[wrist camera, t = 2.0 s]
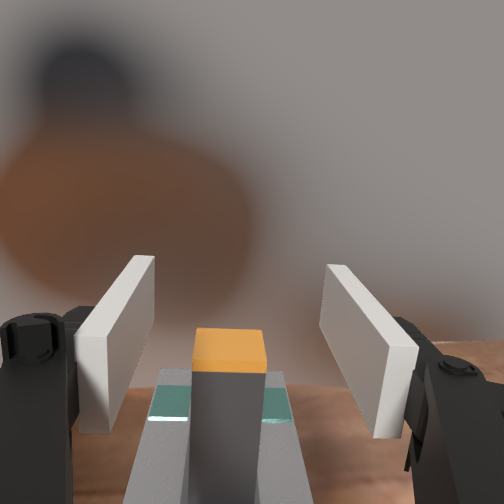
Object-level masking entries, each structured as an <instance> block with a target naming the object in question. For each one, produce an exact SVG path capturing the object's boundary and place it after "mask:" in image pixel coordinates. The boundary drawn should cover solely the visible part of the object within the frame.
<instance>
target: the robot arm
mask: <svg viewBox="0 0 504 504" xmlns="http://www.w3.org/2000/svg"><path fill="white" fill-rule="evenodd" d="M153 322H154V256H142V255H135V256H134V257H133V258H132V259H131V261H130V262H129V263H128V265H127V266H126V267H125V269H124V270H123V271H122V273H121V274H120V275H119V276H118V278H117V279H116V280H115V282H114V283H113V284H112V286H111V287H110V288H109V290H108V291H107V292H106V294H105V295H104V296H103V298H102V299H101V300H100V302H99V303H98V304H97V305H96V307H93V306H78V307H77V308H74V309H73V310H71V311H69V312H67V313H66V314H65V315H64V316H63V317H60V316H58V315H56V314H51V313H32V314H26V315H22V316H18V317H15V318H12V319H10V320H9V321H7V322H5V323H3V325H2V326H1V327H0V338H1V345H2V355H3V363H2V367H1V368H0V504H73V471H72V433H71V428H72V426H73V424H74V422H75V420H76V418H77V416H78V424H79V434H110V433H111V430H112V427H113V425H114V422H115V420H116V417H117V415H118V412H119V409H120V407H121V404H122V402H123V399H124V397H125V394H126V391H127V389H128V386H129V384H130V381H131V378H132V376H133V374H134V371H135V368H136V366H137V363H138V361H139V358H140V356H141V353H142V350H143V348H144V345H145V343H146V340H147V338H148V335H149V332H150V330H151V327H152V325H153ZM319 327H320V329H321V331H322V333H323V335H324V337H325V339H326V341H327V343H328V345H329V347H330V349H331V352H332V354H333V355H334V358H335V360H336V361H337V364H338V366H339V368H340V370H341V372H342V374H343V377H344V379H345V381H346V383H347V385H348V387H349V389H350V391H351V393H352V395H353V397H354V399H355V402H356V404H357V406H358V408H359V410H360V412H361V414H362V416H363V418H364V420H365V422H366V424H367V426H368V429H369V431H370V433H371V435H372V437H373V438H401V434H402V429H403V424H404V419H405V420H406V422H407V424H408V425H409V427H410V428H411V430H412V435H411V440H410V445H409V449H408V454H407V459H406V463H405V468H404V471H407V472H409V468H410V466H411V469H412V479H413V488H414V497H415V504H504V385H503V384H498V383H493V382H489V381H486V379H485V377H484V375H483V373H482V372H481V371H480V370H479V368H477V367H476V366H474V365H473V364H471V363H470V362H467V361H465V360H463V359H461V358H457V357H453V356H449V355H443V354H442V353H441V352H440V351H439V350H438V349H437V348H436V347H435V346H434V345H433V344H432V343H431V342H430V341H429V340H427V338H426V337H425V336H424V335H423V334H421V332H420V331H419V330H418V329H417V328H416V327H415V326H414V325H413V324H412V323H410V322H408V321H407V320H405V319H403V318H401V317H392V316H391V315H390V314H389V313H388V312H387V311H386V310H385V309H384V308H383V306H382V305H381V304H380V303H379V302H378V301H377V300H376V299H375V298H374V297H373V295H372V294H371V293H370V292H369V291H368V290H367V289H366V288H365V287H364V285H363V284H362V283H361V282H360V281H359V280H358V279H357V278H356V277H355V275H354V274H353V273H352V272H351V271H350V270H349V269H348V268H347V267H346V266H345V265H329V264H327V267H326V275H325V283H324V291H323V299H322V308H321V315H320V323H319Z"/></svg>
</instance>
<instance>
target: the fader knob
mask: <svg viewBox="0 0 504 504" xmlns="http://www.w3.org/2000/svg"><path fill="white" fill-rule="evenodd" d="M266 367H267V358H266V353H265V348H264V341H263V336H262V330H245V329H215V328H214V329H213V328H197V332H196V338H195V345H194V351H193V358H192V384H191V416H190V447H189V479H188V504H254V502H255V491H256V480H257V468H258V457H259V446H260V435H261V423H262V412H263V401H264V390H265V379H266Z"/></svg>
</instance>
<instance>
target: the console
mask: <svg viewBox="0 0 504 504" xmlns="http://www.w3.org/2000/svg"><path fill="white" fill-rule="evenodd" d="M191 384H192V369H175V368H174V369H173V368H161V369H160V372H159V376H158V380H157V383H156V387H155V390H154V394H153V397H152V401H151V404H150V408H149V411H148V415H147V418H146V422H145V426H144V429H143V433H142V436H141V440H140V443H139V447H138V450H137V454H136V457H135V461H134V465H133V468H132V472H131V475H130V479H129V482H128V486H127V489H126V493H125V496H124V500H123V503H122V504H188V479H189V447H190V416H191ZM254 504H314V503H313V499H312V495H311V491H310V486H309V482H308V478H307V474H306V469H305V465H304V461H303V456H302V452H301V448H300V444H299V439H298V435H297V431H296V427H295V422H294V418H293V414H292V410H291V405H290V401H289V397H288V393H287V388H286V384H285V380H284V375H283V372H282V371H266V379H265V390H264V401H263V412H262V423H261V435H260V446H259V457H258V468H257V480H256V491H255V502H254Z"/></svg>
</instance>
